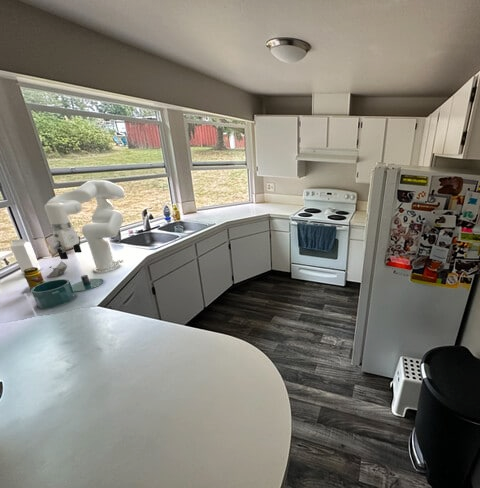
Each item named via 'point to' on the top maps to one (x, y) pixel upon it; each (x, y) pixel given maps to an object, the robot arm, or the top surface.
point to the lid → (86, 284)
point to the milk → (24, 254)
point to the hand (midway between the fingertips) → (71, 255)
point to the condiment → (33, 277)
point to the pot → (53, 293)
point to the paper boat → (58, 269)
